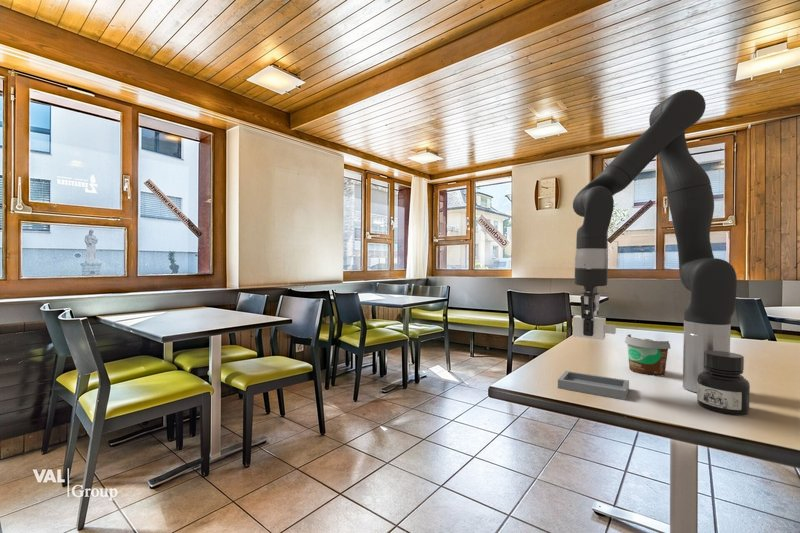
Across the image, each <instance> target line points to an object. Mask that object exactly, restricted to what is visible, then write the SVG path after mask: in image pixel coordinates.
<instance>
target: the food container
mask: <svg viewBox="0 0 800 533" xmlns="http://www.w3.org/2000/svg"><path fill="white" fill-rule="evenodd" d="M624 343H625V344H627V354H628V365H629V366H628V367H629V371H631V372H633V373H636V374H640V375H646V376H653V375H654V377H656V376H657V377H658V376H659V377H662V375H663V376H665V375H666V366H667V361H668V354H669V350H670V349H672V348H671V343H670V341H669V340H666V341H665V340H664V341H662V340H652V339H649V338H637V337H632V334H631V333H629V334H626V336H625V340H624Z"/></svg>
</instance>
